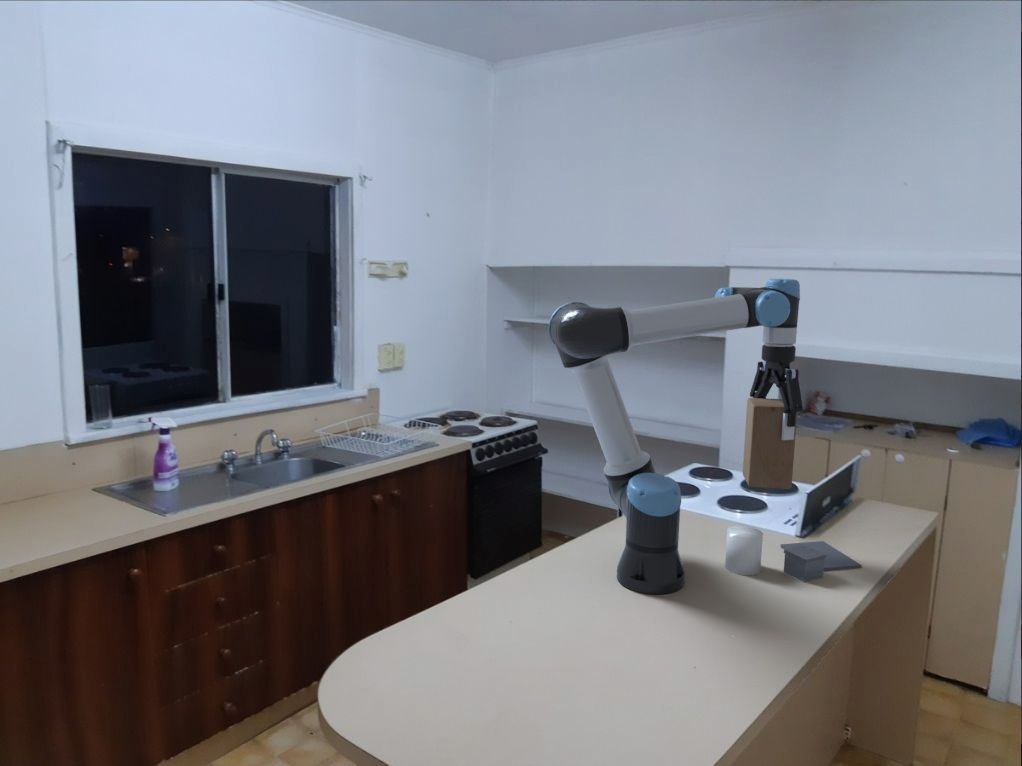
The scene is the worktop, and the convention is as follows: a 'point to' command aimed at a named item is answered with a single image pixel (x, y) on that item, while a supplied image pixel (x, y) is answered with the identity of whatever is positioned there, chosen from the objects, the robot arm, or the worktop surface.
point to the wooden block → (767, 445)
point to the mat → (828, 555)
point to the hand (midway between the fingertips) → (772, 433)
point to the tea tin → (804, 563)
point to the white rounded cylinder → (743, 550)
